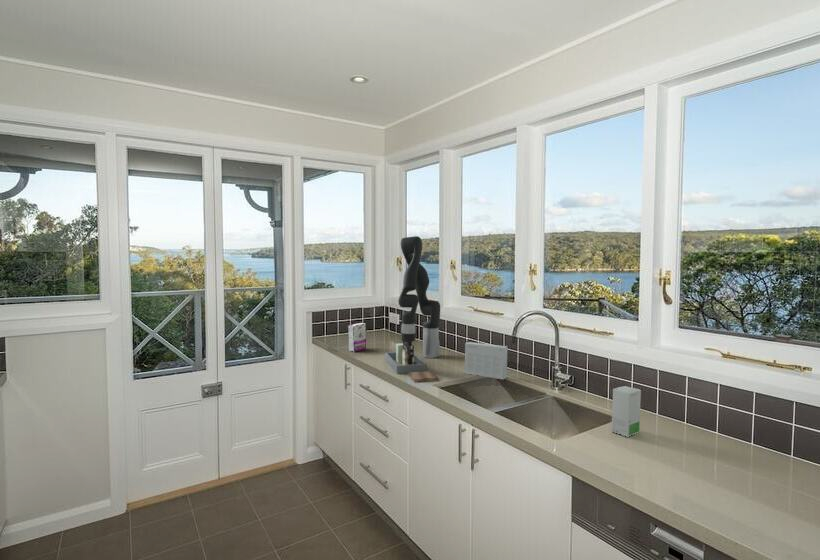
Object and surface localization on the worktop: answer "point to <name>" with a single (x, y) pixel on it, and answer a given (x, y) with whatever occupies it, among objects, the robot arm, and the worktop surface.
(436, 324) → the robot arm
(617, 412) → the skincare box
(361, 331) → the candy bar box
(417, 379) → the walnut board
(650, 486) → the worktop surface
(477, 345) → the skincare box
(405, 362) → the birch block
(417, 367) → the grey bin
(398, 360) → the sage block
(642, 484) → the worktop surface
